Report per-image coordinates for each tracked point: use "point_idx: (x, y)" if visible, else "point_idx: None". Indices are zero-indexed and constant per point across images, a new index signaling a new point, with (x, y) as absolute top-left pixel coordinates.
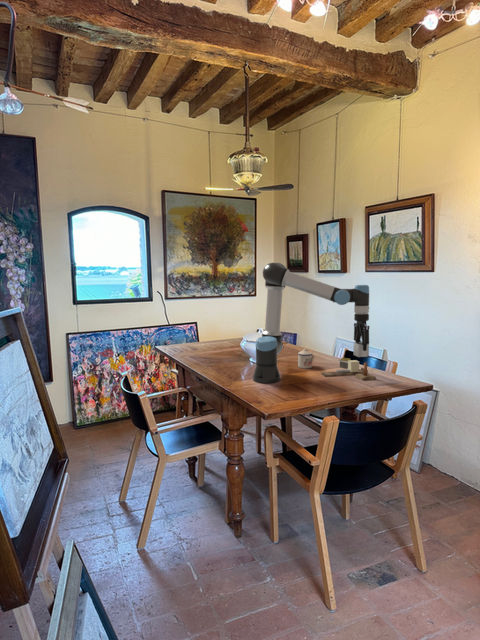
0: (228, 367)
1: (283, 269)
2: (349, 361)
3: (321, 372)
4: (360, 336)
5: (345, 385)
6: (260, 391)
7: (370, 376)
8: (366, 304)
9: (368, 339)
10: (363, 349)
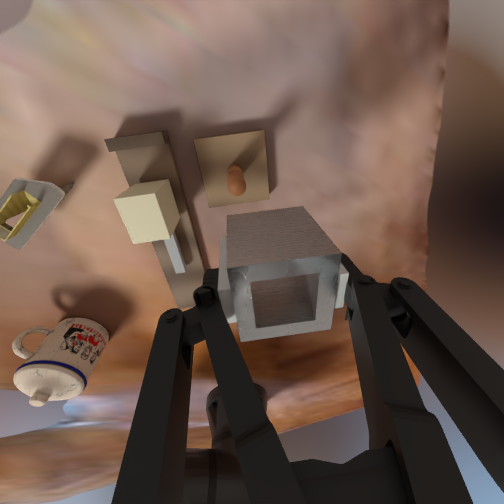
0: None
1: None
2: (151, 240)
3: (179, 307)
4: (238, 348)
5: None
6: (314, 400)
7: (256, 154)
8: None
9: (441, 316)
10: None
